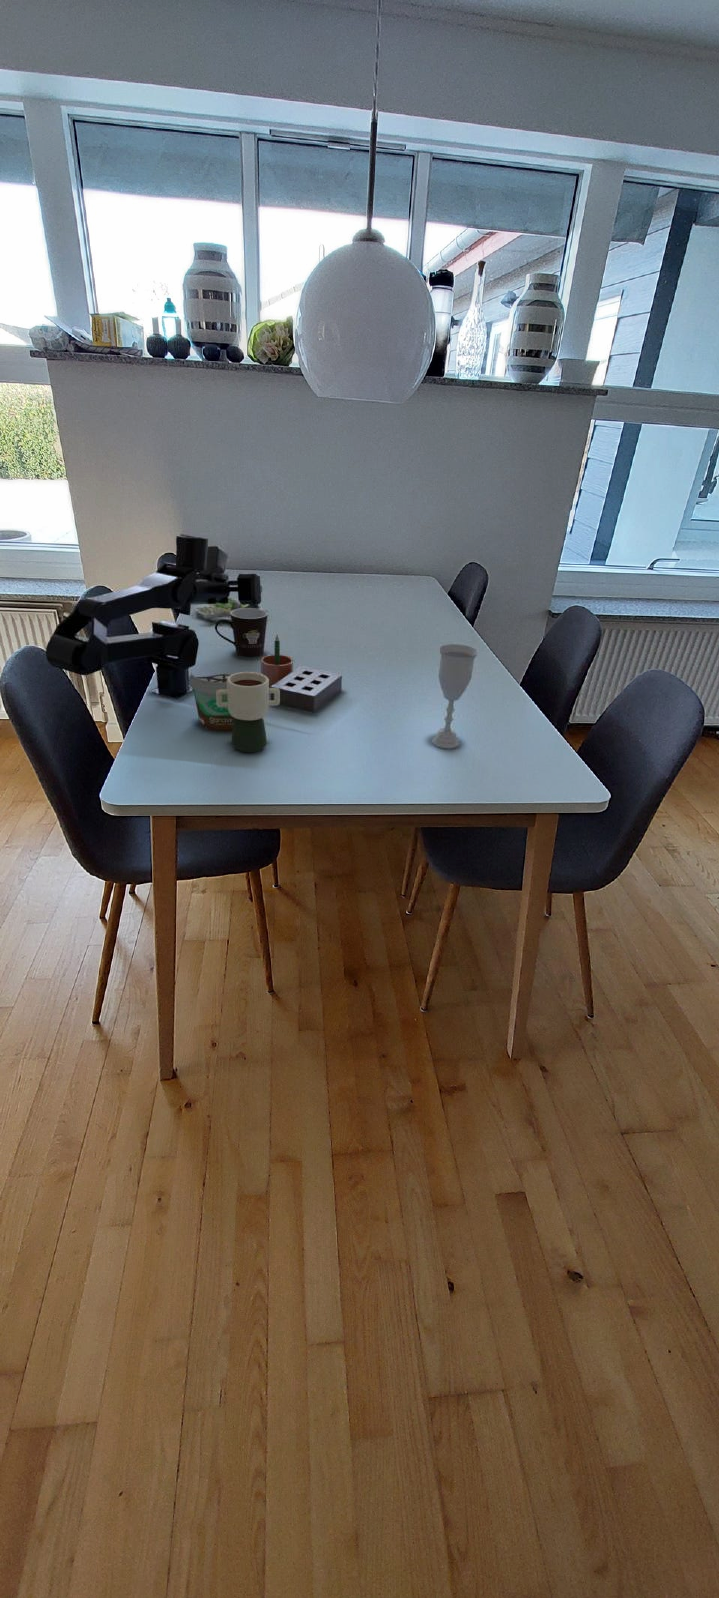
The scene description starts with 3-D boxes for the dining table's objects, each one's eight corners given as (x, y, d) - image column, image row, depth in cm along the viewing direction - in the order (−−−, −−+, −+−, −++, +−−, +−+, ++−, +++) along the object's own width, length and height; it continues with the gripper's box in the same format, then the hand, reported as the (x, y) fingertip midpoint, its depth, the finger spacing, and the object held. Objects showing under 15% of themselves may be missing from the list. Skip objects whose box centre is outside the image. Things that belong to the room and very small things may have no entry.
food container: (193, 736, 126) (190, 685, 121) (191, 722, 131) (187, 672, 126) (260, 732, 129) (260, 682, 124) (256, 718, 134) (255, 669, 129)
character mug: (276, 737, 128) (277, 670, 121) (282, 754, 122) (282, 685, 115) (217, 739, 125) (214, 672, 118) (219, 757, 119) (216, 687, 113)
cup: (283, 690, 147) (283, 667, 144) (255, 684, 149) (255, 661, 146) (298, 680, 152) (298, 658, 150) (270, 674, 155) (270, 652, 152)
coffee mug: (271, 650, 168) (271, 609, 163) (263, 662, 161) (263, 620, 156) (224, 646, 169) (223, 605, 164) (214, 657, 162) (212, 615, 156)
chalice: (441, 730, 135) (453, 641, 125) (470, 742, 131) (485, 651, 122) (419, 742, 130) (431, 650, 120) (450, 754, 126) (463, 660, 117)
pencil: (278, 681, 150) (278, 635, 145) (273, 680, 150) (273, 634, 145) (280, 680, 151) (280, 634, 145) (275, 679, 151) (276, 633, 146)
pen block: (341, 692, 148) (342, 674, 146) (313, 714, 137) (314, 696, 135) (300, 683, 151) (300, 665, 149) (270, 704, 140) (270, 686, 138)
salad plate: (226, 630, 179) (225, 613, 177) (178, 615, 187) (177, 598, 185) (275, 615, 193) (275, 599, 191) (228, 602, 201) (228, 586, 199)
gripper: (234, 546, 134) (278, 549, 147) (160, 549, 142) (208, 552, 155) (238, 605, 137) (280, 603, 151) (165, 605, 145) (212, 603, 159)
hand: (244, 588), depth 154 cm, fingers open, 9 cm apart
